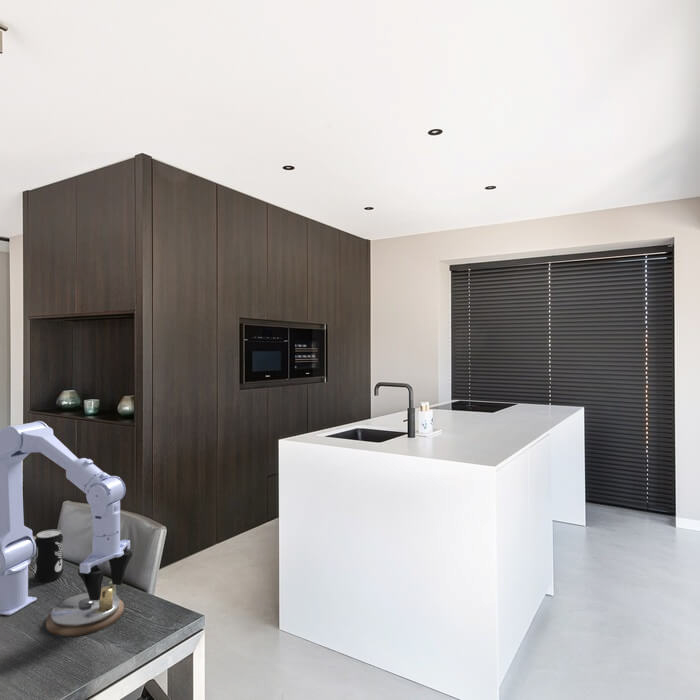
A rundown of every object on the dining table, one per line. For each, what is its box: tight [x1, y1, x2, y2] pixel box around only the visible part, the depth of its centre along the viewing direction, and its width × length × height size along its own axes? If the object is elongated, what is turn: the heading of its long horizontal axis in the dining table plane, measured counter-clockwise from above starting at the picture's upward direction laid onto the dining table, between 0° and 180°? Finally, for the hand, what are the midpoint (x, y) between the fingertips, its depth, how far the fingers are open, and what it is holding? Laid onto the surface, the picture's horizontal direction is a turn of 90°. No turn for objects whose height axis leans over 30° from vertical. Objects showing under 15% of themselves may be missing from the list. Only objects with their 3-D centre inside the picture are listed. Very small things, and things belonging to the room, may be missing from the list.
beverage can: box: [33, 529, 64, 583], centre depth 140 cm, size 7×7×12 cm
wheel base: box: [45, 580, 125, 637], centre depth 121 cm, size 16×18×4 cm
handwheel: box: [50, 585, 120, 627], centre depth 120 cm, size 14×14×6 cm
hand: (106, 591), depth 119 cm, fingers open, 7 cm apart
